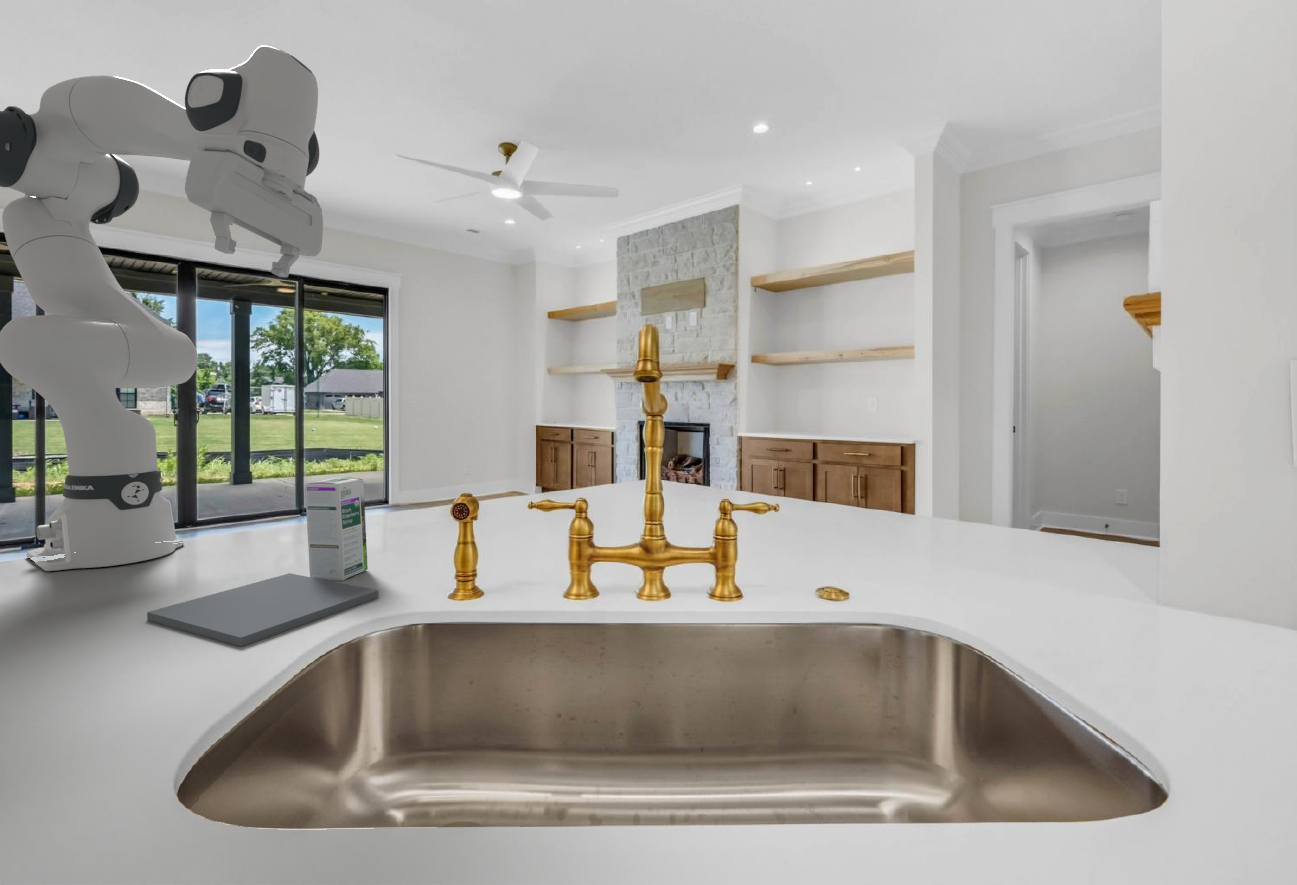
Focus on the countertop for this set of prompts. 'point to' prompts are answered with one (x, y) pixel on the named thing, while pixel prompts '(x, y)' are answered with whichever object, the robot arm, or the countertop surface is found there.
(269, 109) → the robot arm
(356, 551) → the syrup box
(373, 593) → the slate mat
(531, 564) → the countertop surface
